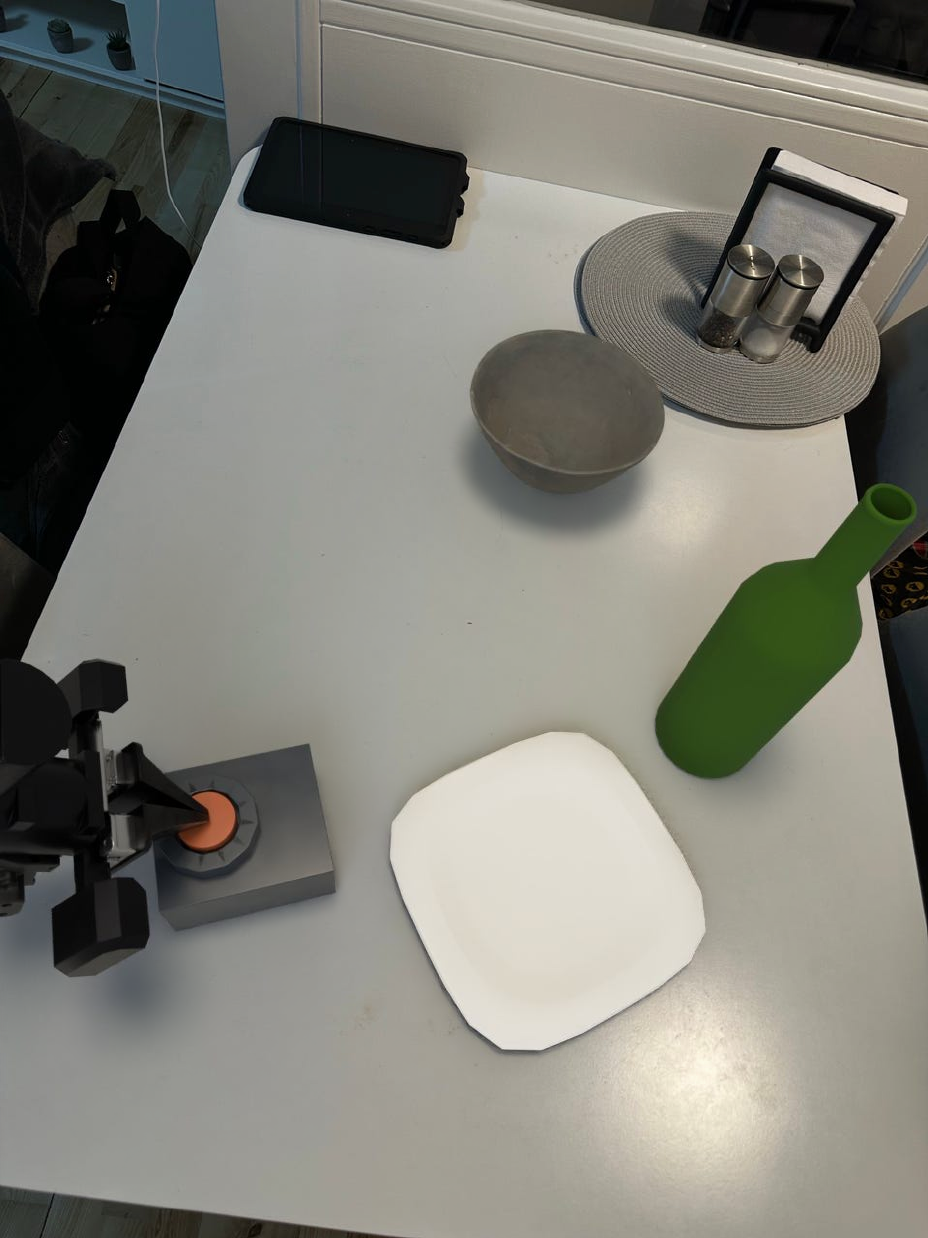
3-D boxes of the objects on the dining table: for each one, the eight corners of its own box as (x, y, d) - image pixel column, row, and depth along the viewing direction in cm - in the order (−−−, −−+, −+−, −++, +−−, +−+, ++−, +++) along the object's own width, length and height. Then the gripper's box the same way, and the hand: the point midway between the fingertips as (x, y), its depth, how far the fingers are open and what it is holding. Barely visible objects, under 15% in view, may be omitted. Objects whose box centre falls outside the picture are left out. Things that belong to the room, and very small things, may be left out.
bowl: (437, 415, 94) (445, 342, 86) (596, 389, 99) (619, 317, 91) (494, 554, 86) (509, 488, 77) (666, 518, 90) (698, 452, 82)
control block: (175, 932, 65) (154, 906, 58) (161, 804, 70) (140, 767, 63) (336, 892, 68) (333, 863, 61) (312, 772, 72) (308, 733, 66)
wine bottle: (723, 677, 81) (913, 432, 54) (770, 765, 77) (1001, 548, 49) (637, 700, 79) (788, 457, 51) (680, 792, 75) (869, 581, 47)
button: (184, 862, 61) (179, 853, 60) (177, 808, 63) (172, 798, 62) (242, 848, 62) (238, 840, 61) (234, 796, 64) (231, 786, 62)
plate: (586, 714, 78) (590, 706, 76) (731, 944, 69) (739, 940, 67) (361, 818, 71) (361, 811, 69) (489, 1089, 62) (492, 1088, 60)
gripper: (-89, 713, 57) (127, 745, 69) (-101, 1017, 48) (149, 993, 60) (-1, 630, 52) (215, 680, 64) (3, 952, 43) (254, 940, 55)
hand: (205, 818), depth 61 cm, fingers closed, pressing on button
